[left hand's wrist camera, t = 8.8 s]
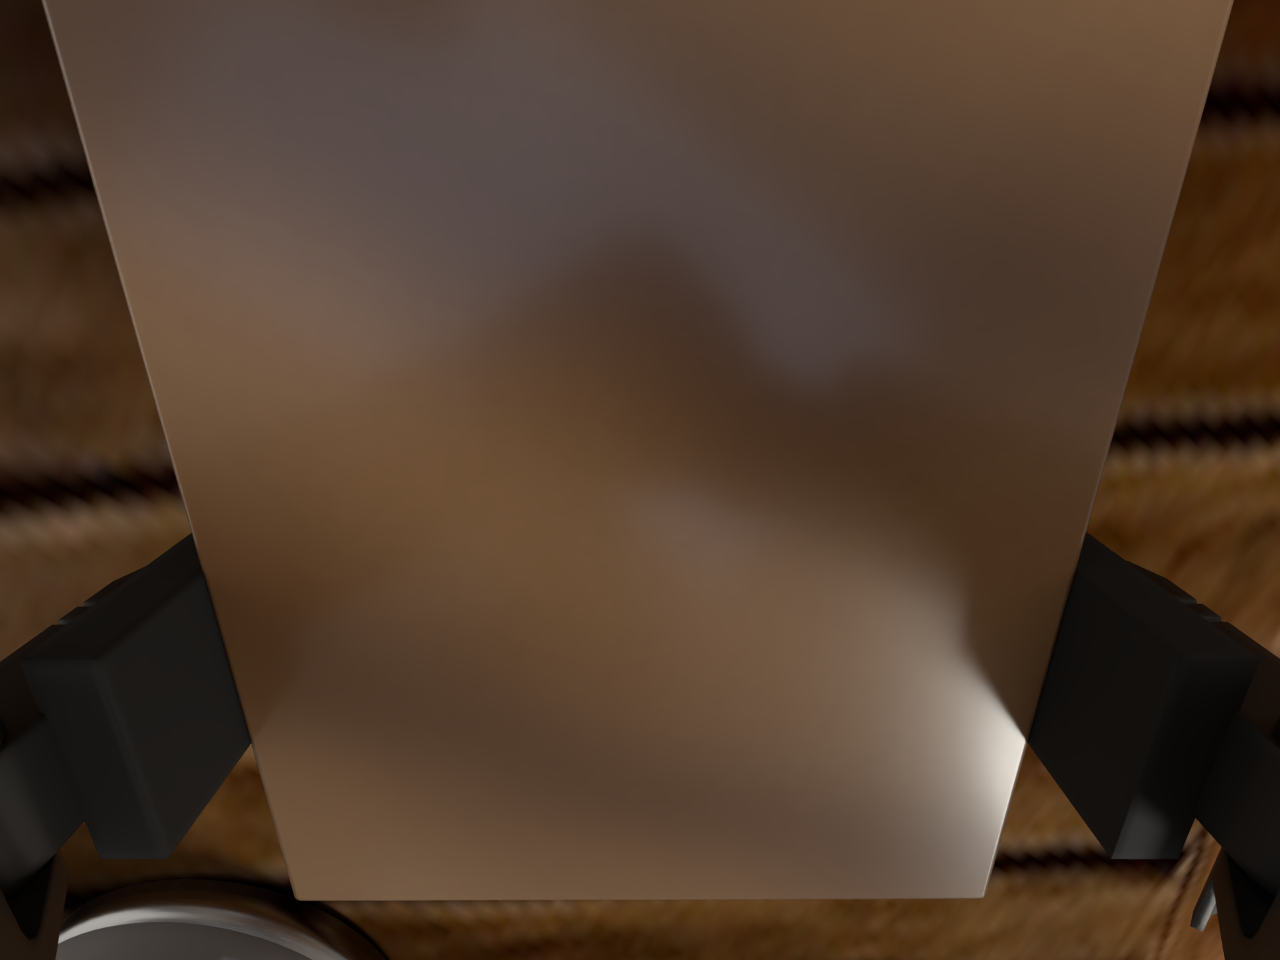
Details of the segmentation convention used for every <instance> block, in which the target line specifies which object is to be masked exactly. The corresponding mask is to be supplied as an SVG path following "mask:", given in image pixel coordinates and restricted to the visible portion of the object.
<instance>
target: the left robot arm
mask: <svg viewBox="0 0 1280 960" xmlns="http://www.w3.org/2000/svg"><path fill="white" fill-rule="evenodd" d="M250 744H251V741H250V737H249V733H248V730H247V726H246V723H245V719H244V716H243V712H242V709H241V705H240V702H239V698H238V695H237V691H236V687H235V684H234V680H233V677H232V673H231V670H230V666H229V663H228V659H227V656H226V652H225V649H224V645H223V641H222V638H221V634H220V631H219V627H218V624H217V620H216V617H215V613H214V610H213V606H212V603H211V599H210V595H209V592H208V588H207V585H206V581H205V578H204V574H203V571H202V567H201V564H200V560H199V557H198V553H197V549H196V546H195V542H194V539H193V535H192V533H191V534H189V535H188V536H187V537H185V538H184V539H183V540H181V541H180V542H179V543H177V544H176V545H174V546H173V547H172V548H170V549H169V550H168V551H166V552H165V553H164V554H162V555H161V556H159V557H158V558H157V559H155V560H154V561H153V562H151V563H150V564H148V565H147V566H146V567H143V568H141V569H139V570H137V571H135V572H132V573H130V574H128V575H126V576H124V577H122V578H119V579H117V580H115V581H113V582H111V583H110V584H109V585H107V586H106V587H104V588H103V589H102V590H100V591H99V592H97V593H96V594H95V595H93V596H92V597H90V598H89V599H88V600H86V601H85V602H84V605H83V607H77V608H75V609H74V610H72V611H71V612H70V613H68V614H67V615H65V616H64V617H63V618H61V619H60V620H59V623H58V625H51V626H50V627H49V628H47V629H46V630H44V631H43V632H42V633H40V634H39V635H37V636H36V637H35V638H33V639H32V640H30V641H29V642H28V643H26V644H25V645H23V646H22V647H21V648H19V649H18V650H16V651H15V652H14V653H12V654H11V655H9V656H8V657H7V658H5V659H4V660H2V661H1V662H0V960H387V959H386V958H385V957H384V956H383V955H382V954H381V953H380V952H379V951H378V950H377V949H376V948H375V947H374V946H373V945H372V944H371V943H370V942H368V941H367V940H366V939H365V938H364V937H363V936H361V935H360V934H359V933H357V932H356V931H355V930H353V929H352V928H351V927H349V926H347V925H346V924H344V923H343V922H341V921H340V920H338V919H336V918H335V917H333V916H331V915H329V914H327V913H326V912H324V911H322V910H320V909H317V908H315V907H313V906H311V905H309V904H306V903H304V902H302V901H299V900H297V899H294V898H291V897H289V896H286V895H283V894H280V893H276V892H273V891H270V890H266V889H262V888H258V887H254V886H249V885H244V884H239V883H233V882H226V881H217V880H205V879H171V880H159V881H151V882H144V883H139V884H134V885H129V886H126V887H123V888H119V889H116V890H113V891H110V892H108V893H105V894H103V895H100V896H98V897H96V898H94V899H92V900H90V901H88V902H86V903H85V904H83V905H82V906H80V907H79V908H77V909H76V910H75V911H73V912H72V913H71V914H70V915H69V916H68V917H67V918H65V919H64V920H63V921H62V917H63V911H64V904H65V898H66V892H67V886H68V880H69V878H68V872H67V867H66V863H65V861H64V859H63V856H62V854H61V852H60V850H59V849H60V847H61V846H62V845H63V844H64V843H65V842H66V841H67V840H68V839H69V837H70V836H71V835H72V834H73V833H74V832H75V831H76V830H77V829H78V827H79V826H80V825H81V824H82V823H83V822H84V821H85V822H86V825H87V827H88V829H89V832H90V834H91V837H92V839H93V841H94V844H95V846H96V849H97V851H98V854H99V856H100V858H101V859H168V858H169V856H170V855H171V854H172V852H173V851H174V849H175V848H176V847H177V845H178V844H179V843H180V841H181V840H182V838H183V837H184V836H185V834H186V833H187V831H188V830H189V829H190V827H191V826H192V825H193V823H194V822H195V820H196V819H197V818H198V816H199V815H200V813H201V812H202V811H203V809H204V808H205V806H206V805H207V804H208V802H209V801H210V800H211V798H212V797H213V795H214V794H215V793H216V791H217V790H218V788H219V787H220V786H221V784H222V783H223V782H224V780H225V779H226V777H227V776H228V775H229V773H230V772H231V770H232V769H233V768H234V766H235V765H236V764H237V762H238V761H239V759H240V758H241V757H242V755H243V754H244V752H245V751H246V750H247V748H248V747H249V745H250ZM1028 744H1029V745H1030V747H1031V748H1032V749H1033V751H1034V752H1035V754H1036V755H1037V756H1038V758H1039V759H1040V760H1041V762H1042V763H1043V765H1044V766H1045V767H1046V769H1047V770H1048V772H1049V773H1050V774H1051V776H1052V777H1053V779H1054V780H1055V781H1056V783H1057V784H1058V785H1059V787H1060V788H1061V790H1062V791H1063V792H1064V794H1065V795H1066V797H1067V798H1068V799H1069V801H1070V802H1071V803H1072V805H1073V806H1074V808H1075V809H1076V810H1077V812H1078V813H1079V815H1080V816H1081V817H1082V819H1083V820H1084V821H1085V823H1086V824H1087V826H1088V827H1089V828H1090V830H1091V831H1092V833H1093V834H1094V835H1095V837H1096V838H1097V840H1098V841H1099V842H1100V844H1101V845H1102V846H1103V848H1104V849H1105V851H1106V852H1107V853H1108V855H1109V856H1110V858H1111V859H1178V858H1179V856H1180V853H1181V851H1182V848H1183V846H1184V844H1185V841H1186V839H1187V836H1188V834H1189V832H1190V829H1191V827H1192V824H1193V822H1194V819H1195V818H1196V819H1197V820H1198V821H1199V822H1200V823H1201V824H1202V825H1203V827H1204V828H1205V829H1206V830H1207V831H1208V832H1209V833H1210V834H1211V835H1212V836H1213V838H1214V839H1215V840H1216V841H1217V842H1218V843H1219V844H1220V845H1221V846H1222V847H1221V850H1220V852H1219V854H1218V856H1217V859H1216V861H1215V863H1214V865H1213V868H1212V870H1211V872H1210V874H1209V877H1208V879H1207V881H1206V883H1205V886H1204V888H1203V890H1202V893H1201V895H1200V897H1199V899H1198V902H1197V904H1196V906H1195V908H1194V911H1193V915H1192V920H1191V925H1190V926H1191V927H1194V928H1196V929H1198V930H1201V931H1203V930H1204V927H1205V925H1206V923H1207V921H1208V919H1209V917H1210V916H1211V915H1213V914H1216V913H1217V914H1218V920H1219V926H1220V932H1221V939H1222V945H1223V951H1224V957H1225V960H1280V659H1279V658H1278V657H1276V656H1275V655H1274V654H1272V653H1271V652H1269V651H1268V650H1267V649H1265V648H1264V647H1262V646H1261V645H1260V644H1258V643H1257V642H1255V641H1254V640H1252V639H1251V638H1250V637H1248V636H1247V635H1245V634H1244V633H1243V632H1241V631H1240V630H1238V629H1237V628H1236V627H1234V626H1233V625H1231V624H1230V623H1229V622H1222V621H1221V617H1220V616H1219V615H1217V614H1216V613H1214V612H1213V611H1212V610H1210V609H1209V608H1207V607H1206V606H1205V605H1203V604H1197V603H1196V599H1195V598H1193V597H1192V596H1190V595H1189V594H1188V593H1186V592H1185V591H1183V590H1182V589H1181V588H1179V587H1178V586H1176V585H1175V584H1174V583H1172V582H1171V581H1169V580H1168V579H1166V578H1164V577H1162V576H1160V575H1157V574H1155V573H1153V572H1151V571H1149V570H1146V569H1144V568H1142V567H1140V566H1138V565H1136V564H1133V563H1131V562H1129V561H1125V560H1124V559H1122V558H1121V557H1120V556H1118V555H1117V554H1116V553H1114V552H1113V551H1111V550H1110V549H1109V548H1107V547H1106V546H1105V545H1103V544H1102V543H1101V542H1099V541H1098V540H1096V539H1095V538H1094V537H1092V536H1091V535H1090V534H1088V533H1087V532H1086V534H1085V538H1084V541H1083V545H1082V549H1081V552H1080V556H1079V559H1078V563H1077V567H1076V570H1075V574H1074V577H1073V581H1072V585H1071V588H1070V592H1069V595H1068V599H1067V603H1066V606H1065V610H1064V613H1063V617H1062V621H1061V624H1060V628H1059V631H1058V635H1057V639H1056V642H1055V646H1054V649H1053V653H1052V657H1051V660H1050V664H1049V667H1048V671H1047V675H1046V678H1045V682H1044V685H1043V689H1042V693H1041V696H1040V700H1039V703H1038V707H1037V711H1036V714H1035V718H1034V721H1033V725H1032V729H1031V732H1030V736H1029V739H1028Z"/></svg>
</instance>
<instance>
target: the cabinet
mask: <svg viewBox="0 0 1280 960" xmlns="http://www.w3.org/2000/svg"><path fill="white" fill-rule="evenodd" d="M41 1H42V4H43V8H44V12H45V15H46V19H47V22H48V26H49V29H50V33H51V36H52V40H53V43H54V47H55V50H56V54H57V58H58V61H59V65H60V68H61V72H62V75H63V79H64V82H65V86H66V89H67V93H68V96H69V100H70V104H71V107H72V111H73V114H74V118H75V121H76V125H77V128H78V132H79V135H80V139H81V142H82V146H83V150H84V153H85V157H86V160H87V164H88V167H89V171H90V174H91V178H92V181H93V185H94V188H95V192H96V196H97V199H98V203H99V206H100V210H101V213H102V217H103V220H104V224H105V227H106V231H107V234H108V238H109V242H110V245H111V249H112V252H113V256H114V259H115V263H116V266H117V270H118V273H119V277H120V280H121V284H122V288H123V291H124V295H125V298H126V302H127V305H128V309H129V312H130V316H131V319H132V323H133V326H134V330H135V334H136V337H137V341H138V344H139V348H140V351H141V355H142V358H143V362H144V365H145V369H146V373H147V376H148V380H149V383H150V387H151V390H152V394H153V397H154V401H155V404H156V408H157V411H158V415H159V419H160V422H161V426H162V429H163V433H164V436H165V440H166V443H167V447H168V450H169V454H170V457H171V461H172V465H173V468H174V472H175V475H176V479H177V482H178V486H179V489H180V493H181V496H182V500H183V503H184V507H185V511H186V514H187V518H188V521H189V525H190V528H191V532H192V535H193V539H194V542H195V546H196V549H197V553H198V557H199V560H200V564H201V567H202V571H203V574H204V578H205V581H206V585H207V588H208V592H209V595H210V599H211V603H212V606H213V610H214V613H215V617H216V620H217V624H218V627H219V631H220V634H221V638H222V641H223V645H224V649H225V652H226V656H227V659H228V663H229V666H230V670H231V673H232V677H233V680H234V684H235V687H236V691H237V695H238V698H239V702H240V705H241V709H242V712H243V716H244V719H245V723H246V726H247V730H248V733H249V737H250V741H251V744H252V748H253V751H254V755H255V758H256V762H257V765H258V769H259V772H260V776H261V779H262V783H263V787H264V790H265V794H266V797H267V801H268V804H269V808H270V811H271V815H272V818H273V822H274V825H275V829H276V833H277V836H278V840H279V843H280V847H281V850H282V854H283V857H284V861H285V864H286V868H287V871H288V875H289V879H290V882H291V886H292V889H293V893H294V896H295V898H296V899H297V900H300V901H361V900H715V899H980V898H983V897H984V896H985V894H986V891H987V887H988V884H989V880H990V876H991V873H992V869H993V866H994V862H995V858H996V855H997V851H998V848H999V844H1000V840H1001V837H1002V833H1003V830H1004V826H1005V822H1006V819H1007V815H1008V812H1009V808H1010V804H1011V801H1012V797H1013V794H1014V790H1015V786H1016V783H1017V779H1018V776H1019V772H1020V768H1021V765H1022V761H1023V758H1024V754H1025V750H1026V747H1027V743H1028V739H1029V736H1030V732H1031V729H1032V725H1033V721H1034V718H1035V714H1036V711H1037V707H1038V703H1039V700H1040V696H1041V693H1042V689H1043V685H1044V682H1045V678H1046V675H1047V671H1048V667H1049V664H1050V660H1051V657H1052V653H1053V649H1054V646H1055V642H1056V639H1057V635H1058V631H1059V628H1060V624H1061V621H1062V617H1063V613H1064V610H1065V606H1066V603H1067V599H1068V595H1069V592H1070V588H1071V585H1072V581H1073V577H1074V574H1075V570H1076V567H1077V563H1078V559H1079V556H1080V552H1081V549H1082V545H1083V541H1084V538H1085V534H1086V531H1087V527H1088V523H1089V520H1090V516H1091V513H1092V509H1093V505H1094V502H1095V498H1096V495H1097V491H1098V487H1099V484H1100V480H1101V477H1102V473H1103V469H1104V466H1105V462H1106V459H1107V455H1108V451H1109V448H1110V444H1111V441H1112V437H1113V433H1114V430H1115V426H1116V422H1117V419H1118V415H1119V412H1120V408H1121V404H1122V401H1123V397H1124V394H1125V390H1126V386H1127V383H1128V379H1129V376H1130V372H1131V368H1132V365H1133V361H1134V358H1135V354H1136V350H1137V347H1138V343H1139V340H1140V336H1141V332H1142V329H1143V325H1144V322H1145V318H1146V314H1147V311H1148V307H1149V304H1150V300H1151V296H1152V293H1153V289H1154V286H1155V282H1156V278H1157V275H1158V271H1159V268H1160V264H1161V260H1162V257H1163V253H1164V250H1165V246H1166V242H1167V239H1168V235H1169V232H1170V228H1171V224H1172V221H1173V217H1174V214H1175V210H1176V206H1177V203H1178V199H1179V196H1180V192H1181V188H1182V185H1183V181H1184V178H1185V174H1186V170H1187V167H1188V163H1189V160H1190V156H1191V152H1192V149H1193V145H1194V142H1195V138H1196V134H1197V131H1198V127H1199V123H1200V120H1201V116H1202V113H1203V109H1204V105H1205V102H1206V98H1207V95H1208V91H1209V87H1210V84H1211V80H1212V77H1213V73H1214V69H1215V66H1216V62H1217V59H1218V55H1219V51H1220V48H1221V44H1222V41H1223V37H1224V33H1225V30H1226V26H1227V23H1228V19H1229V15H1230V12H1231V8H1232V5H1233V1H1234V0H41Z"/></svg>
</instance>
